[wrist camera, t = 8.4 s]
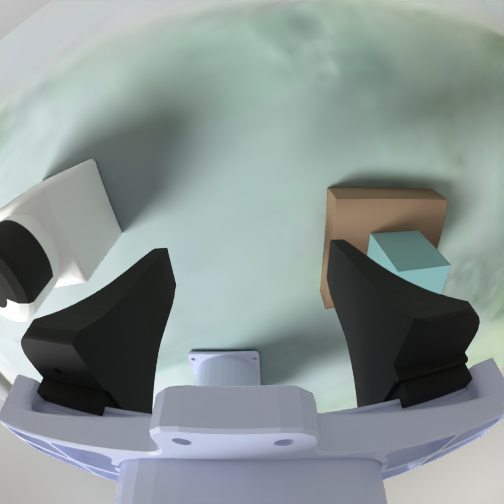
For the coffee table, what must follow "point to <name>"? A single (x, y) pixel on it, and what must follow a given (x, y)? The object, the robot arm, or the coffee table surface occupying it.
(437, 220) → the walnut slab
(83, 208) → the medicine bottle
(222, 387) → the robot arm
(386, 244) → the teal block
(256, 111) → the coffee table surface
